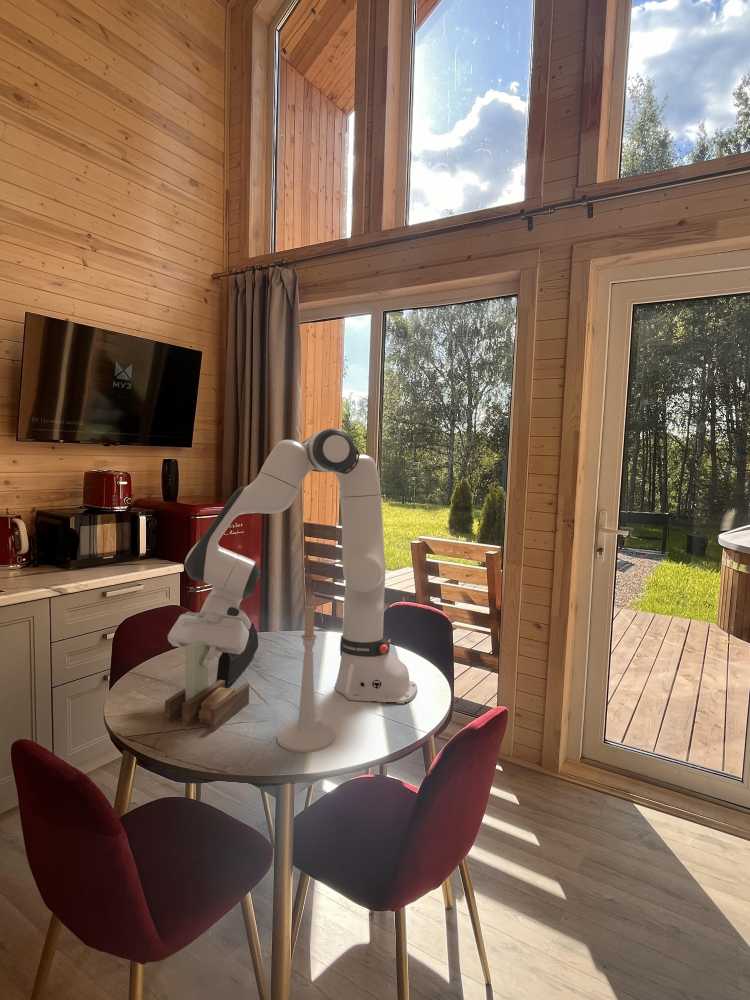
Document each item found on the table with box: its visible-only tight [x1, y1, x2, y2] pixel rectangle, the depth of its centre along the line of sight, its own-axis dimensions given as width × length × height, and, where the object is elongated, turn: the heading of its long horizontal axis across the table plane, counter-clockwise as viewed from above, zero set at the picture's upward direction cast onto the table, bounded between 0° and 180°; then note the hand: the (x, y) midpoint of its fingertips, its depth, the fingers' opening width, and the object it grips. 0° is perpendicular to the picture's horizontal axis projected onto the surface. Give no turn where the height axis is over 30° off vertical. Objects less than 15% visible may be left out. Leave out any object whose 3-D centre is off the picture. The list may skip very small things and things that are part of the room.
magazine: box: [215, 622, 259, 688], centre depth 166 cm, size 17×3×30 cm
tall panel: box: [184, 641, 209, 702], centre depth 139 cm, size 2×6×14 cm, turn 164°
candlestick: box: [276, 605, 336, 753], centre depth 127 cm, size 13×13×30 cm
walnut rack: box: [164, 680, 250, 732], centre depth 138 cm, size 13×16×5 cm
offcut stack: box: [199, 687, 235, 724], centre depth 138 cm, size 4×11×4 cm, turn 171°
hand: (195, 664), depth 138 cm, fingers closed on tall panel, 2 cm apart
